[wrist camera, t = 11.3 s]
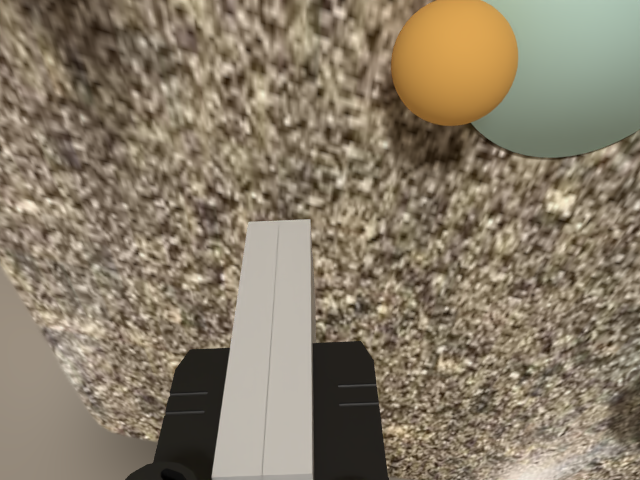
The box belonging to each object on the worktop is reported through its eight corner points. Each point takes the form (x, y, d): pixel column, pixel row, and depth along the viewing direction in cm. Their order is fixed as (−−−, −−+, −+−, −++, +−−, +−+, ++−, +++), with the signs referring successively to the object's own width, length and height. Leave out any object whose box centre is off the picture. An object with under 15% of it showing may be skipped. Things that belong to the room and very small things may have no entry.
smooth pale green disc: (773, 28, 27) (776, 29, 27) (544, 196, 33) (546, 198, 33) (641, -205, 22) (643, -206, 21) (393, 45, 27) (394, 46, 27)
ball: (346, 63, 26) (413, 32, 29) (413, 164, 26) (472, 121, 29) (426, -18, 21) (494, -44, 24) (506, 104, 21) (563, 62, 25)
